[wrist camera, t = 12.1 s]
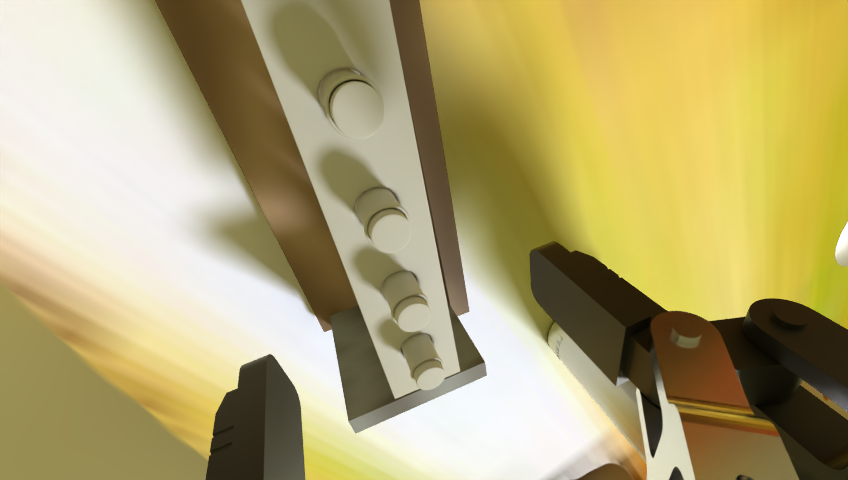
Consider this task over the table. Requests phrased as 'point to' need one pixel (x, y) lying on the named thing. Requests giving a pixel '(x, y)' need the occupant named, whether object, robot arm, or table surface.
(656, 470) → the robot arm
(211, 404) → the table surface
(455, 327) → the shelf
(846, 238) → the desk lamp
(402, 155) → the long lego plate
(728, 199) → the table surface
